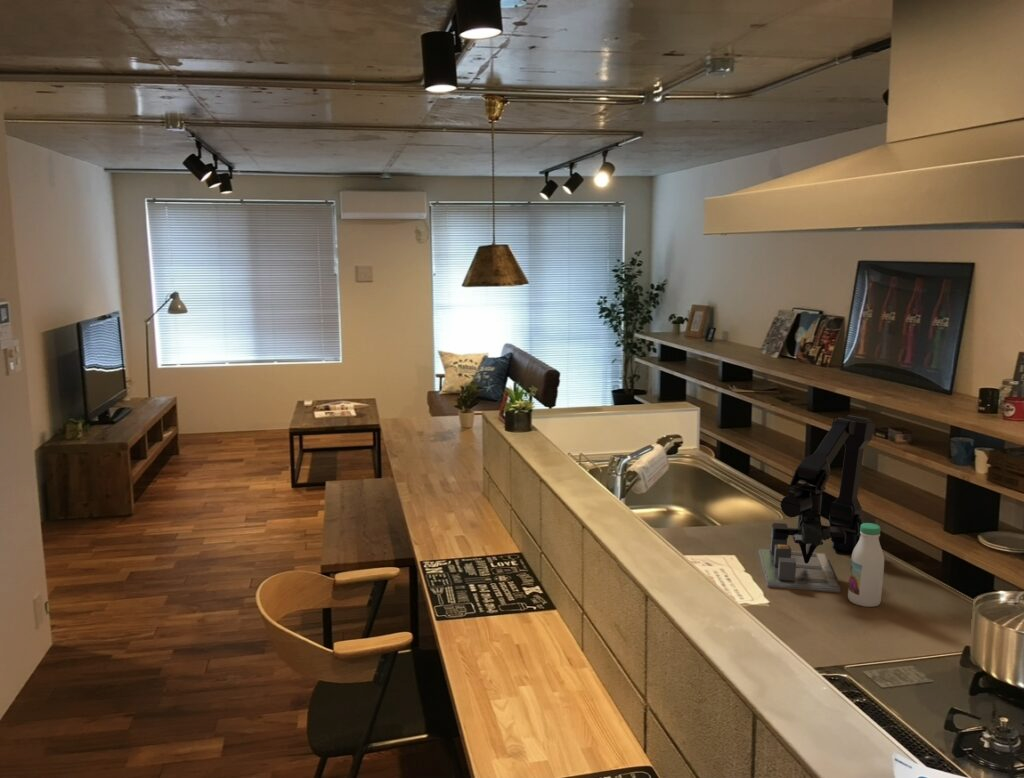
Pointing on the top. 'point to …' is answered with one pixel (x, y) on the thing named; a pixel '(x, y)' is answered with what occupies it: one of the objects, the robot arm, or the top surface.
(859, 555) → the milk bottle
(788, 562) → the block
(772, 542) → the block
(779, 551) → the breaker mid
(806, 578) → the panel
